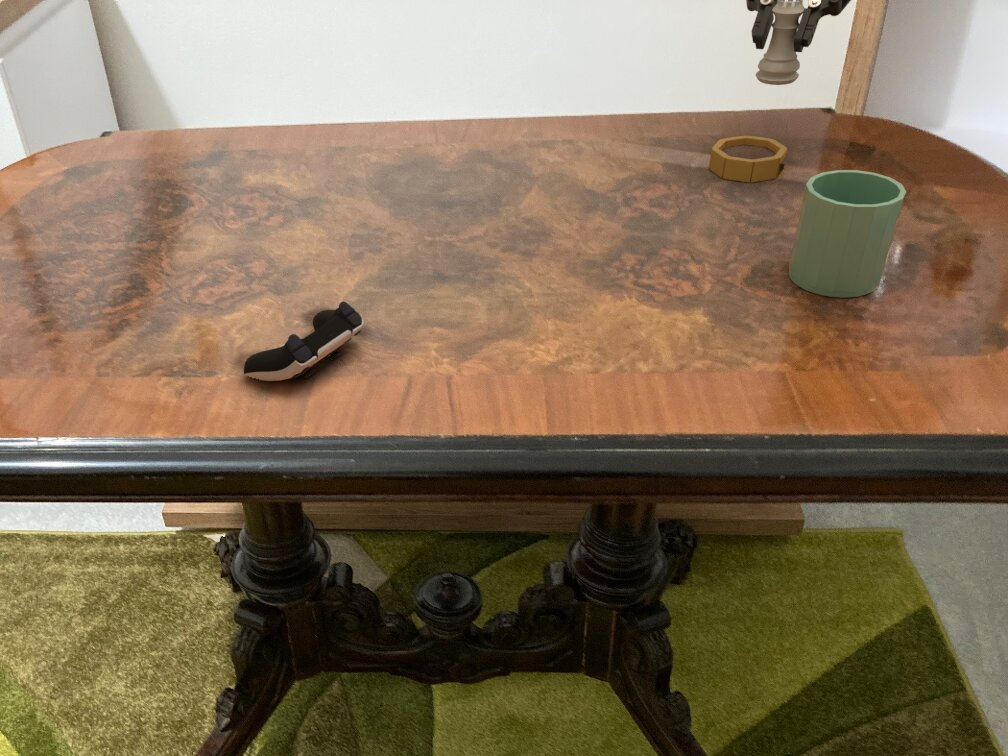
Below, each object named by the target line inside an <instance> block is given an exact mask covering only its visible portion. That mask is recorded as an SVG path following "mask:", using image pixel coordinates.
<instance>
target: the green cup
mask: <svg viewBox="0 0 1008 756" xmlns="http://www.w3.org/2000/svg"><path fill="white" fill-rule="evenodd" d="M906 195H907V190H906V188H905V187H904V185H903V184H902V183H901V182H899V181H897V180H895V179H894V178H892V177H889V176H887V175H883V174H880V173H877V172H873V171H872V172H871V171H863V170H857V169H836V170H830V171H823V172H820V173H818V174H815V175H814V176H811V177H810V178H809V179H808V181H807V182H806V184H805V188H804V192H803V197H802V202H801V207H800V212H799V215H798V222H797V224H796V225H797V226H796V230H795V235H794V240H793V243H792V249H791V254H790V259H789V263H788V277H789V279H790V280H791V282H793V284H794V285H796V286H797V287H800V288H801V289H802V290H805V291H806V292H810V293H812V294H815V295H819V296H824V297H829V298H843V299H844V298H845V299H846V298H848V299H849V298H856V297H857V298H859V297H863V296H865V295H870V294H871V293H873V292H874V291H876V290H877V289H879V287H880V284H881V281H882V278H883V276H884V273H885V270H886V266H887V262H888V258H889V255H890V252H891V247H892V244H893V241H894V237H895V234H896V231H897V230H896V229H897V228H898V223H899V219H900V216H901V212H902V209H903V205H904V203H905V198H906Z"/></svg>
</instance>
